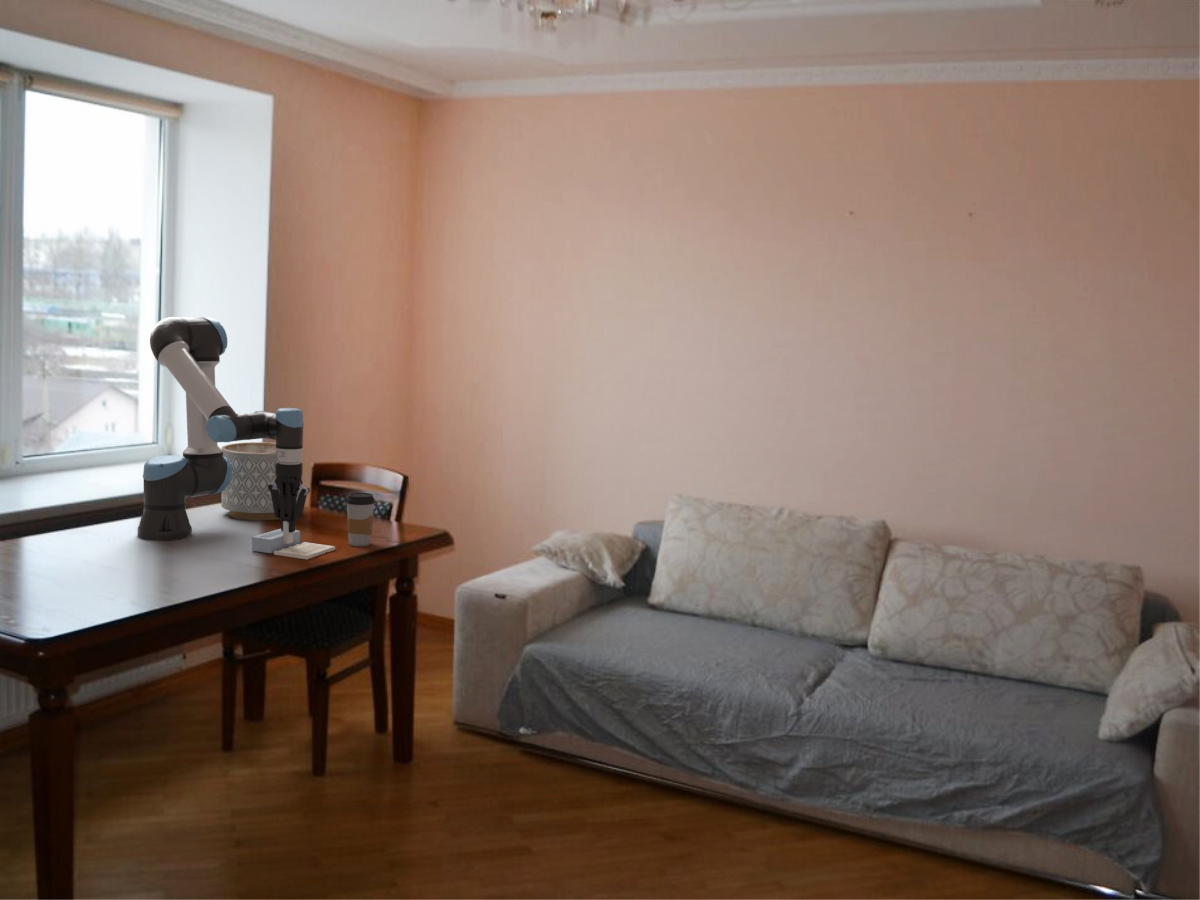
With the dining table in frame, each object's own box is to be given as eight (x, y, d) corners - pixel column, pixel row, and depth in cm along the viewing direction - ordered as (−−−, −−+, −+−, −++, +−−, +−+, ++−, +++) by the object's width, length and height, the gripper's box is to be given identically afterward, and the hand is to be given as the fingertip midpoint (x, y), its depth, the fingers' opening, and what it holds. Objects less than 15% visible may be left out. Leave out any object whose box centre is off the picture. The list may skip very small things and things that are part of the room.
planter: (317, 513, 383) (318, 447, 380) (266, 525, 360) (267, 456, 357) (257, 503, 393) (258, 440, 390) (204, 515, 370) (204, 447, 367)
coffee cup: (367, 548, 336) (368, 498, 334) (340, 545, 338) (341, 496, 336) (378, 542, 344) (379, 493, 342) (352, 540, 346) (353, 491, 344)
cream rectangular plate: (273, 554, 323) (273, 550, 323) (303, 545, 336) (303, 541, 336) (306, 559, 319) (306, 555, 319) (335, 549, 332) (335, 546, 332)
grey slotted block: (251, 550, 326) (251, 536, 325) (281, 541, 339) (281, 527, 338) (270, 553, 323) (270, 539, 323) (299, 543, 336) (300, 530, 336)
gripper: (261, 461, 325) (261, 542, 328) (300, 466, 320) (299, 548, 324) (277, 458, 332) (276, 537, 335) (316, 463, 327) (314, 543, 331)
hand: (287, 542), depth 329 cm, fingers closed
